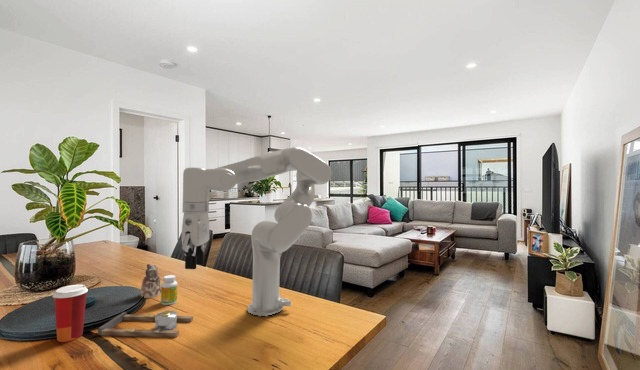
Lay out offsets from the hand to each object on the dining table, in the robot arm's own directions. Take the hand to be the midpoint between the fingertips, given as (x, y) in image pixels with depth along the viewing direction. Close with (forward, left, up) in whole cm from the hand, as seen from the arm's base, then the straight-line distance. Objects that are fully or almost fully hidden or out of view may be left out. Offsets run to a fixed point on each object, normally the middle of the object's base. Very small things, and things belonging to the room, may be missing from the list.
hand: (194, 265), depth 91 cm
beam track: (+14, 0, -19) cm, 24 cm away
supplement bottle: (+18, -19, -20) cm, 32 cm away
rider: (+9, 0, -19) cm, 21 cm away
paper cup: (+33, +7, -20) cm, 39 cm away
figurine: (+29, -26, -20) cm, 43 cm away
